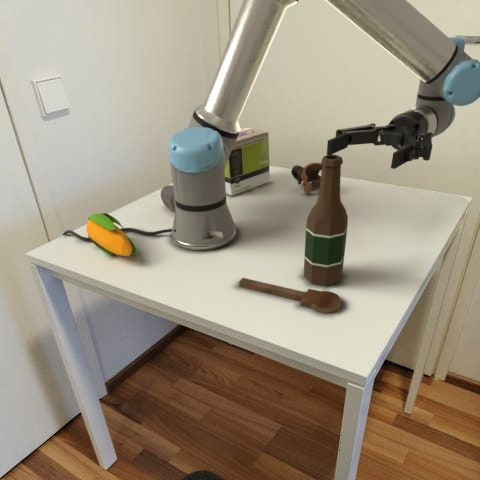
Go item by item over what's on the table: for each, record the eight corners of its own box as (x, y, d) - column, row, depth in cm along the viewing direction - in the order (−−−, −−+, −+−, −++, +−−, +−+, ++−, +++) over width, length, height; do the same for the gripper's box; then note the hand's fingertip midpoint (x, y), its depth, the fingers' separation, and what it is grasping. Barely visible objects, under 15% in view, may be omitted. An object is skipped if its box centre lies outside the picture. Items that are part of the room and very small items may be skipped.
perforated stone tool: (156, 206, 125) (152, 181, 120) (172, 201, 127) (169, 176, 123) (185, 223, 115) (182, 196, 111) (202, 217, 117) (199, 191, 113)
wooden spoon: (234, 291, 89) (234, 286, 88) (247, 277, 92) (247, 272, 92) (334, 316, 81) (335, 310, 80) (344, 300, 85) (344, 294, 84)
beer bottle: (295, 277, 92) (300, 158, 77) (319, 263, 96) (327, 147, 82) (326, 291, 87) (337, 167, 73) (350, 275, 91) (364, 155, 77)
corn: (103, 201, 108) (142, 228, 95) (112, 230, 113) (150, 259, 100) (74, 212, 105) (110, 241, 92) (84, 241, 110) (120, 272, 97)
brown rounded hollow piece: (332, 185, 133) (337, 165, 125) (319, 209, 130) (324, 190, 122) (295, 170, 135) (298, 150, 127) (282, 193, 132) (283, 174, 124)
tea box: (248, 175, 141) (247, 125, 132) (270, 183, 135) (270, 131, 126) (210, 188, 134) (205, 136, 125) (231, 197, 128) (228, 143, 119)
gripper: (465, 157, 92) (420, 188, 79) (357, 138, 105) (303, 161, 93) (476, 118, 87) (429, 144, 75) (361, 103, 101) (305, 123, 88)
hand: (359, 154), depth 84 cm, fingers open, 13 cm apart
